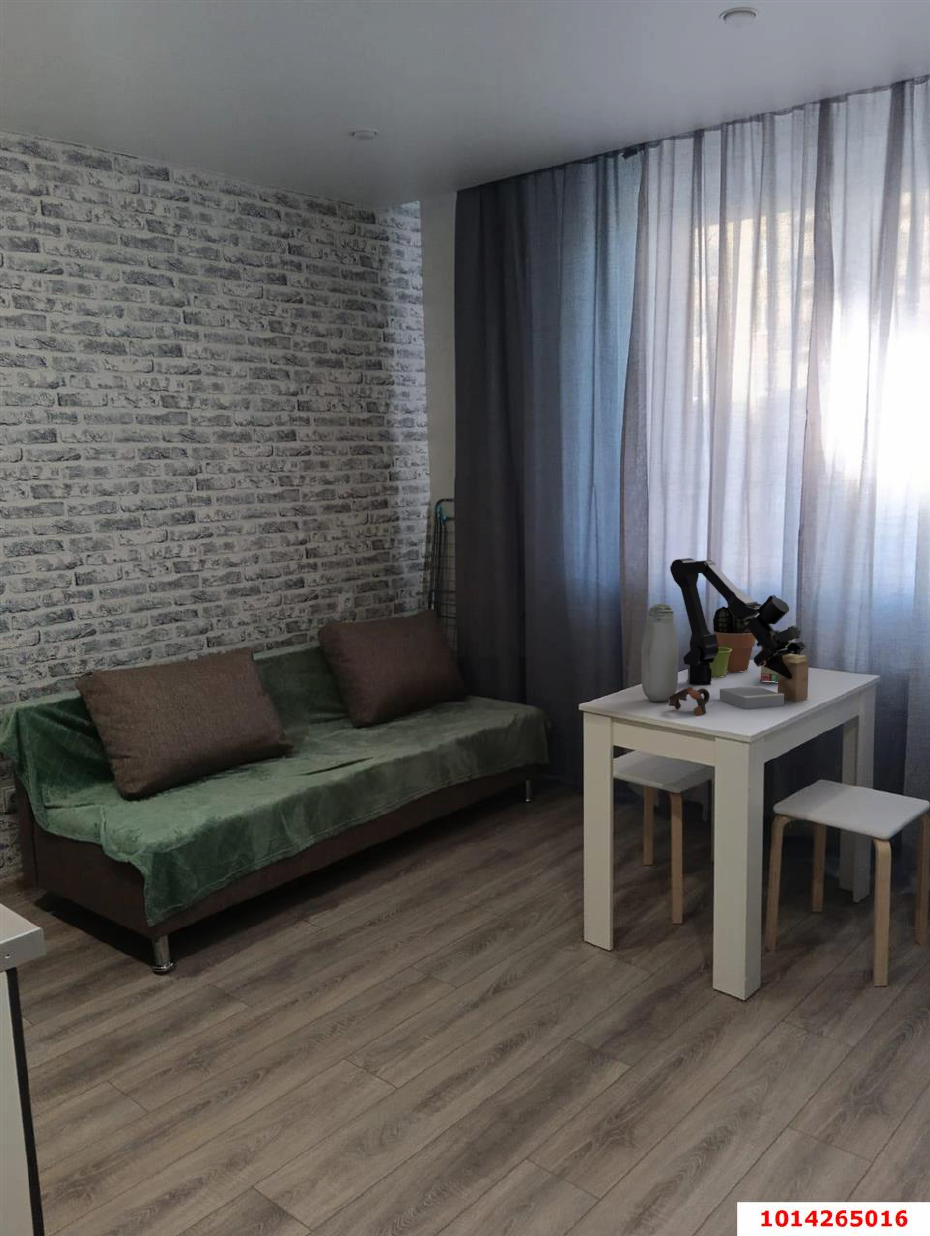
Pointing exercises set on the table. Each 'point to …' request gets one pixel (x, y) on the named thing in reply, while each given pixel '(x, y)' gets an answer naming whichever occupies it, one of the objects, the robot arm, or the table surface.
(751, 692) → the dock
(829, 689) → the table surface
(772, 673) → the stack of blocks
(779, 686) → the brown rectangular block
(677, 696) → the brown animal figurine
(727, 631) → the potted plant
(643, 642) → the glass bottle
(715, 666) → the plant pot
